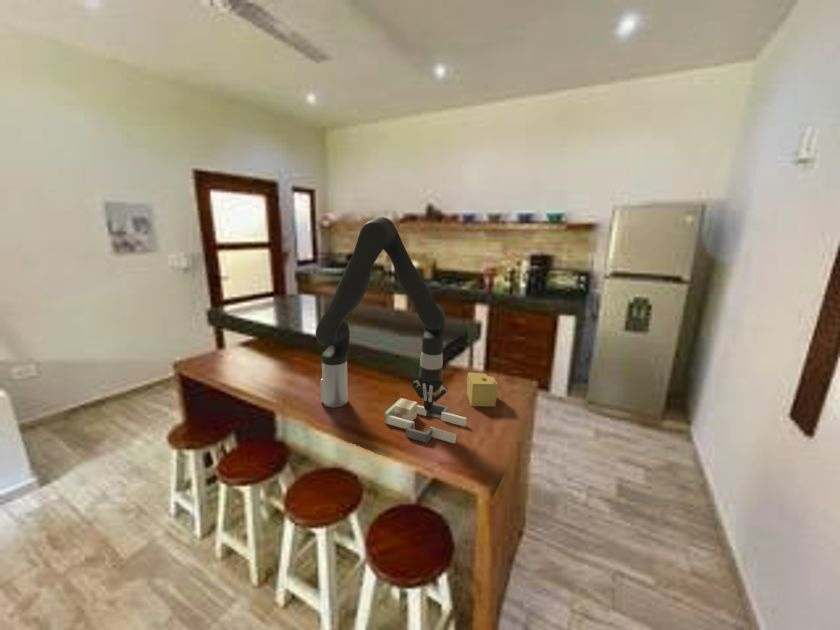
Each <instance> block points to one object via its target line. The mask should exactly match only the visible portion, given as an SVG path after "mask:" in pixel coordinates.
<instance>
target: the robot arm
mask: <svg viewBox="0 0 840 630" xmlns="http://www.w3.org/2000/svg"><path fill="white" fill-rule="evenodd" d="M383 251H384V252H385V253H386V254H387V256H388V257H389V259H390V261H391V263H392V265H393V268H394V271H395V274H396V277H397V279H398V283H399V285H400V287H401V288H402V290H403V292H404V293H405V295H406V296H407V298H408V299H409V300H410V302H411V303H412V305H413V307H414V309H415V311H416V313H417V315H418V317H419V319H420V322H421V323H422V325H423V326H424V327H423V330H424V331H423V335H422V339H421V340H422V341H421V354H420V358H419V359H420V361H419V375H418V378H417V379H416V380H414V381H412V383H411V386H412V387H413V389H414V391H415V392H416V394H417V396H418V397H419V398H420V399H423V406H424V408H425V410H427V411H430V410H431V409H432V408H433V403H436V402H437V401H438V400H440V399H441V398H442V397H443V396H444V395H445V394H446V393H447V392H448V390H449V389H448V387H444V385H443V381H442V378H443V377H442V375H443V364H444V356H443V355H444V354H443V351H444V330H445V323H446V311H445V309H444V308H443V306H442V305H440V304H437V303H436V302H435V301H434V298H433V296H432V292H431V290H430V288H429V287H428V286H427V284H426V282H425V281H424V279H423V278H422V276H421V275H420V273H419V271H418V269H417V268H416V267H415V265H414V263H413V261H412V260H411V258H410V255H409V253H408V251H407V249H406V247H405V245H404V243H403V240H402V239H401V236H400V234H399V231H398V230H397V228H396V226H395V224H394V223H393V222H392V220H390V219H389V218H387V217H384V216H380V217H376V218H373V219H372V220H371V219H370V220H369V221H367V222H365V223H364V224H363V226H362V227H361V229H360V232H359V234H358V237H357V241H356V244H355V247H354V250H353V253H352V256H351V257H350V260H349V261H348V263H347V266H346V267H345V269H344V272H343V274H342V276H341V278H340V281H339V283H338V285H337V286H336V290H335V293H334V295H332V298H331V300H330V303H329V305H328V307H327V309H326V311H325V313H324V314H323V315H322V317H321V319H320V320H319V322H318V324H317V326H316V329H315V339H316V341H317V343H318V344H319V345H320V346H322V347H327V348H326V349H325V350H324V351H323V352H322V354H321V372H322V373H321V376H322V377H321V379H320V381H319V382H320V383H319V384H320V386H319V387H320V403H323V405H324V406H325V407H327V408H340V407H343V406H345V405H346V404H347V403H348V399H349V398H348V397H349V396H348V392H349V391H348V356H349V352H350V339H351V338H350V337H351V336H350V335H351V334H350V327H349V324H348V322H347V320H346V317H347V316H349V315H350V313H352V311H354V309H356V308H357V307H358V306H359V305H360V303H361V302H362V300H363V298H364V296H365V295H366V293H367V290H368V289H369V285H370V282H371V273H372V269H373V267H374V264H375V263H376V261H377V259H378V257H379V256H380V254H381V253H382V252H383ZM438 390H439V392H438V393H437V394H436V392H437V391H438ZM435 394H436V395H435Z"/></svg>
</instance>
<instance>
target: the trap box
mask: <svg viewBox="0 0 840 630" xmlns="http://www.w3.org/2000/svg"><path fill="white" fill-rule="evenodd" d="M401 399H402V397H399V399H398V400H397V401H396V402H395V403H393V404H392V405H391V407H389V408H388V409H387V410H386V411H385V412H384V424H387V425H391V426H394V427H398V428H401V429H403V428H404V429H403V430H405V437H406V438H408V437H409V438H408V439H411V438H412V440H416V441H418V440H419V442H421V441H422V443H424V442H425V444H427V443H429V441H430V440H432V438H434V439H437V440H441V441H444V442H448V443H452V444H455V443H456V442H457V441H456V440H457V433H454V432H450V431H448V430H444V429H440V428H438V427H433V426H430V427H429V429H428V430H427V431H426V432H424V431H421V430H417V429H416V428H415V421H409V420H405V419H402V418H398V417H395V416H394V414H395V405H396V404H397V403H398V402H399V401H400V400H401ZM417 415H421V416H425V417H426V416H428V417H431V418H434V419H438V420H440V421H442V422H447V423H450V424H454V425H457V426H461V427H464V428H465V427H466V425H467V417H464V416H461V415H457V414H454V413H450V412H449V407H448V406H446V405H442V404H437V403H436V402H433V408H432V409H431V410H430V411H427V410H425V408H424V405H419V404H417ZM431 437H432V438H431Z"/></svg>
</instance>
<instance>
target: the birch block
mask: <svg viewBox="0 0 840 630" xmlns="http://www.w3.org/2000/svg"><path fill="white" fill-rule="evenodd" d="M401 398H402V397H401ZM417 405H418V402H417V401H414V400H411V399H407V398H402V399H401V400H400V401H399V402H398V403H397V404H396V405H395V414H394V416H395V417H398V418H402V419H405V420H409V421H412V422H414V420H415V419H416V418H417V417H418V416H417V415H418V414H417Z"/></svg>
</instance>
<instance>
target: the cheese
mask: <svg viewBox="0 0 840 630" xmlns="http://www.w3.org/2000/svg"><path fill="white" fill-rule="evenodd" d="M498 386H499V385H498V383H497V381H496V379H495V377H494V376H490V375H488V374H486V373H482V372H467V378H466V391H467V398H468V401H469V404H470V407H491V408H492V407H496V403H497V395H498Z"/></svg>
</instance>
